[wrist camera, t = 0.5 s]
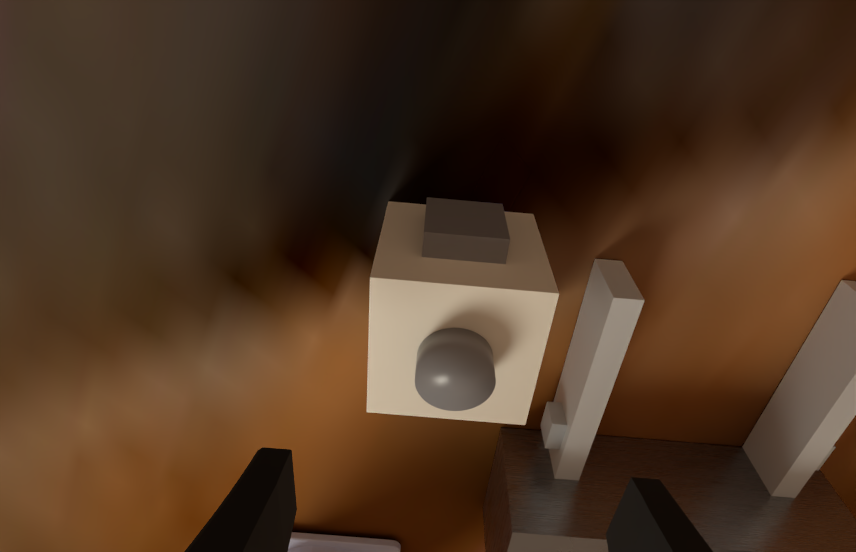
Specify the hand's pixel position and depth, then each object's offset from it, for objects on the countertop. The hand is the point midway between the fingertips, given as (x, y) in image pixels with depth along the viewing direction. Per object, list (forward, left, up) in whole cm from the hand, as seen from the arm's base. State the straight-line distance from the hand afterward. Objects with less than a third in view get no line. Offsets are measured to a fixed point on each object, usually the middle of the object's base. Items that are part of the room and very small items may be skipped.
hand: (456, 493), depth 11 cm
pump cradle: (-4, -10, -9) cm, 14 cm away
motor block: (-11, -10, -9) cm, 18 cm away
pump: (0, 0, -9) cm, 9 cm away
